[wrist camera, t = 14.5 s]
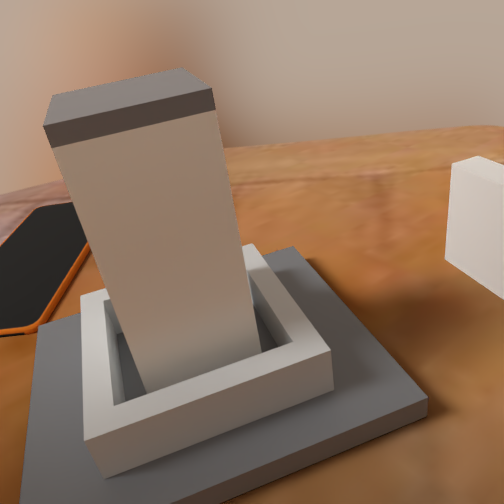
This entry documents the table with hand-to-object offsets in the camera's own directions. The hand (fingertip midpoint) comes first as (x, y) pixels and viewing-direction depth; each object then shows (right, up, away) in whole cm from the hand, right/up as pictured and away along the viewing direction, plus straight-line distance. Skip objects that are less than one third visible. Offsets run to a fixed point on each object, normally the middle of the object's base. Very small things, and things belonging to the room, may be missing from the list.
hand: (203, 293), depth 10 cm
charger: (-1, -3, +9) cm, 10 cm away
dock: (-1, -4, +10) cm, 11 cm away
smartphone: (-14, 0, +22) cm, 26 cm away
